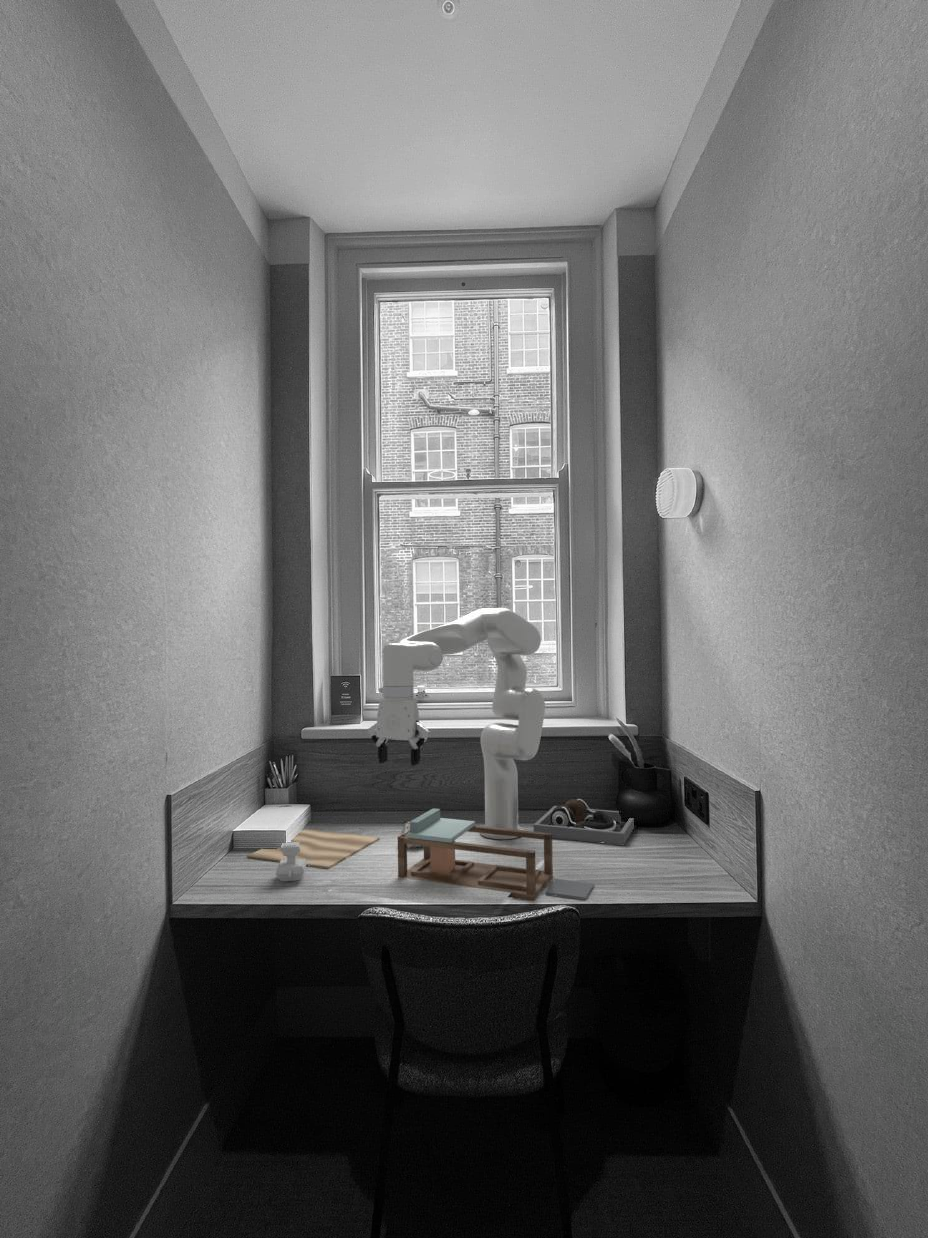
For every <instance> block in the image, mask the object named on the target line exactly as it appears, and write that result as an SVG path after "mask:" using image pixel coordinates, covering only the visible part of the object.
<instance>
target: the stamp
mask: <svg viewBox="0 0 928 1238" xmlns="http://www.w3.org/2000/svg"><path fill="white" fill-rule="evenodd" d="M299 852H300V842H287V843H282V845H281V853H283V856H287V859H286V860H280V862H278V865H277V868H276V869H275V875H276V877H277V878H278V879H279V880H280V882H296V881H297V880H298V881H300V880H301V879H302V877H303V876H304V873H305V871H306V869H307V868H306V867H307V866H306V865H307V861H306V859H296V855H298V853H299Z"/></svg>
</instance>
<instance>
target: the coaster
mask: <svg viewBox="0 0 928 1238" xmlns="http://www.w3.org/2000/svg"><path fill="white" fill-rule="evenodd" d="M594 887H595V883H593V882H586V881H578V880H577V881H576V880H571V879H563V878H554V880H553V881H552V883H551V884H550V885H549V887H548V888H547V889H546V890H545V891H544V892H545V894H546V896H551V895H557V896H556V897H558V896H561V897H560V898H566V897H568V898H567V899H573V898H575V900H582V901H586V900H587V898H588V897H589V895H590V893H591V892H592V890H593V889H594ZM592 888H593V889H592Z"/></svg>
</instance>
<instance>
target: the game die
mask: <svg viewBox="0 0 928 1238" xmlns="http://www.w3.org/2000/svg"><path fill="white" fill-rule="evenodd" d="M403 822H404V825H403V828H402V831H401V833H400V835H399V836H408V833H410V821H406V820H405V819H403ZM399 836H397V839H398V837H399ZM415 848H424V846H422V845H414V844H407V849H415Z"/></svg>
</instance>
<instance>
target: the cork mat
mask: <svg viewBox="0 0 928 1238" xmlns="http://www.w3.org/2000/svg"><path fill="white" fill-rule="evenodd" d="M299 831H300V832H299ZM299 831H298V832H299V833H298V835H296V836H295V837H294V838H293V839H292V840H291V842H300V852H299V853H298V855H296V859H306V861H307V865H309V866H308V867H311V866H313V867H312V868H318V867H320V868H319V869H325V868H329V869H331V868H332V867H334V866H336V865H338V864H340V863H341V862H343V861H345V860H347V859H348V858H350V857H352V856H353V855H355V854H357V853H358V851H359V850H360V851H362V850H364V849H365V847H366V848H367V847H369V846H371V845H372V844H374V843H376V842H377V841H380V840H381V839H380V837H377V836H369V835H360V834H352V833H351V834H350V833H343V832H336V831H326V830H317V829H309V828H304V829H302V830H299ZM368 845H369V846H368ZM361 849H362V850H361ZM360 851H359V852H360ZM356 852H357V853H356ZM354 853H355V854H354ZM351 855H352V856H351ZM349 856H350V857H349ZM347 857H348V858H347ZM246 858H247V859H255V860H261V861H268V860H269V862H274V863H275V862H277V863H280V860H286V859H287V856H283V853H281V848H277V849H263V848H260V849H259V850H257V851H254V852H252V853H251V854H250V853H249V854H247V855H246ZM346 858H347V859H346ZM339 862H340V863H339ZM337 863H338V864H337Z"/></svg>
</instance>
